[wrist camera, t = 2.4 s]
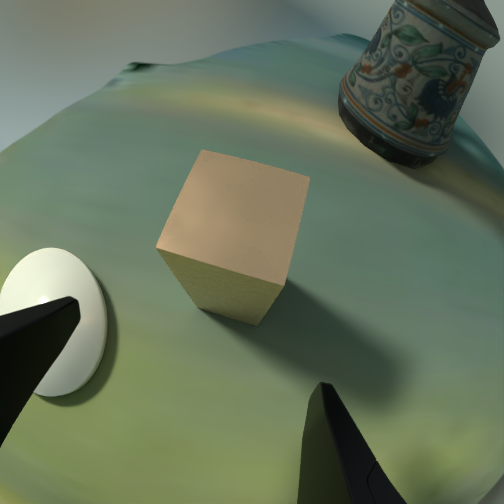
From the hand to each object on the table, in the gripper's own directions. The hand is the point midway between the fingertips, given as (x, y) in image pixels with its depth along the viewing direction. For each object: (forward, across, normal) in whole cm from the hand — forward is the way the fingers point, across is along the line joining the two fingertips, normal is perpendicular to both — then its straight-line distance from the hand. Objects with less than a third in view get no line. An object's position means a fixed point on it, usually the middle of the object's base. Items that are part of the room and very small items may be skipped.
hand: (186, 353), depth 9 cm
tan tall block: (+14, 0, +5) cm, 15 cm away
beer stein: (+34, -12, -15) cm, 39 cm away
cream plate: (+7, +16, +12) cm, 21 cm away
